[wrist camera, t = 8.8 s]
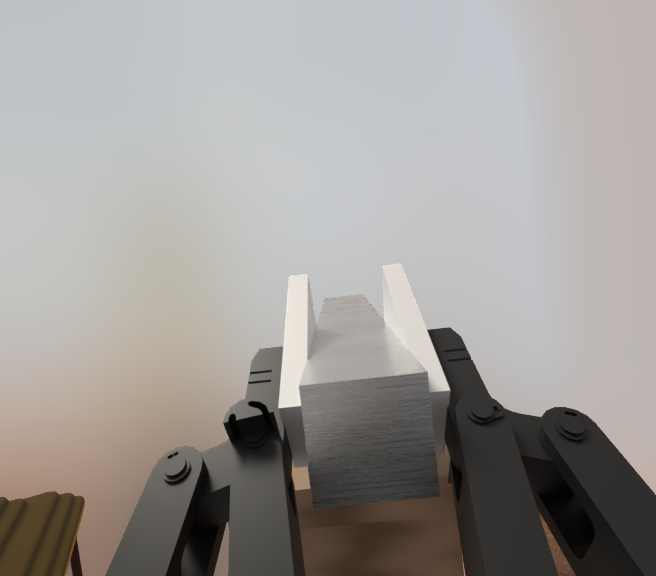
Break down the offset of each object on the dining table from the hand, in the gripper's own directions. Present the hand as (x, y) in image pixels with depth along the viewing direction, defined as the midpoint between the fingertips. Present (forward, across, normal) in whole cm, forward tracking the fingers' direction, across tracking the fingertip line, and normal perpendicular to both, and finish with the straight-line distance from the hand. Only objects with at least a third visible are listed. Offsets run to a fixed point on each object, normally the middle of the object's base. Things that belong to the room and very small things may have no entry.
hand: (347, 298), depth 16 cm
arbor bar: (+1, 0, -6) cm, 6 cm away
